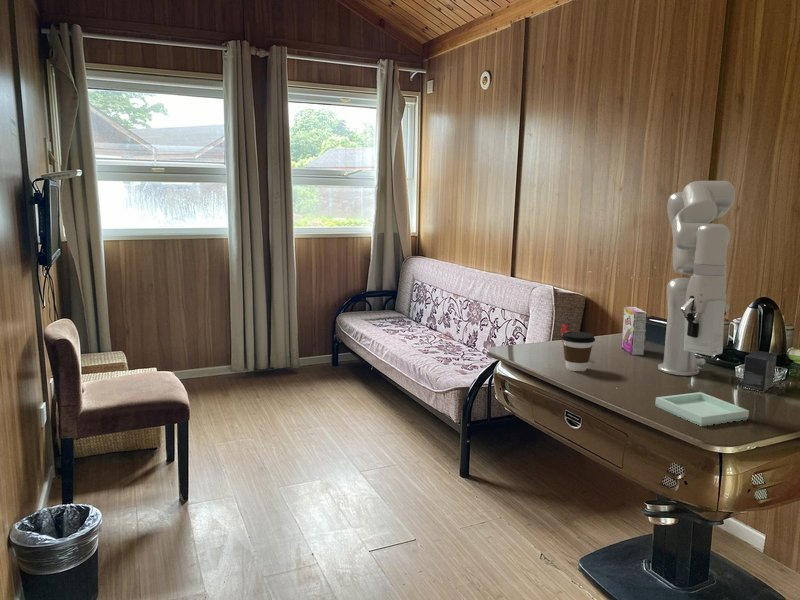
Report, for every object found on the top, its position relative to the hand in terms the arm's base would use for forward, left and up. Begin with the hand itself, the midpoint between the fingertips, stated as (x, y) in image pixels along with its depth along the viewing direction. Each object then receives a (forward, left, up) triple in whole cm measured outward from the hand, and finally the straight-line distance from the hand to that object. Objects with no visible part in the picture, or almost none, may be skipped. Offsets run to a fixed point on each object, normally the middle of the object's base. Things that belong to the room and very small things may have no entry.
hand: (703, 335), depth 164 cm
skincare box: (0, 0, -5) cm, 5 cm away
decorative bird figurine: (0, -60, -21) cm, 63 cm away
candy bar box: (-25, -56, -21) cm, 65 cm away
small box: (-33, -8, -21) cm, 40 cm away
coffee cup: (+10, -42, -21) cm, 48 cm away
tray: (+3, +4, -20) cm, 21 cm away
